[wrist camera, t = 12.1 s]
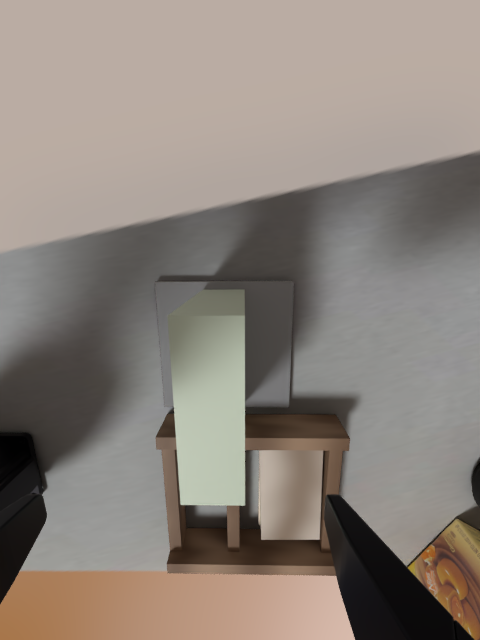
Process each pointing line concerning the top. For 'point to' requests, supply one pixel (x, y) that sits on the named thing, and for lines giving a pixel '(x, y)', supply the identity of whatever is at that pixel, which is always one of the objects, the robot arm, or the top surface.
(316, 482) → the upper offcut
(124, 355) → the top surface
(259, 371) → the mat
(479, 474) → the beverage can
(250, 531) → the rack
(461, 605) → the candy box
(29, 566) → the top surface
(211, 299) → the pale green square slab
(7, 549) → the robot arm
